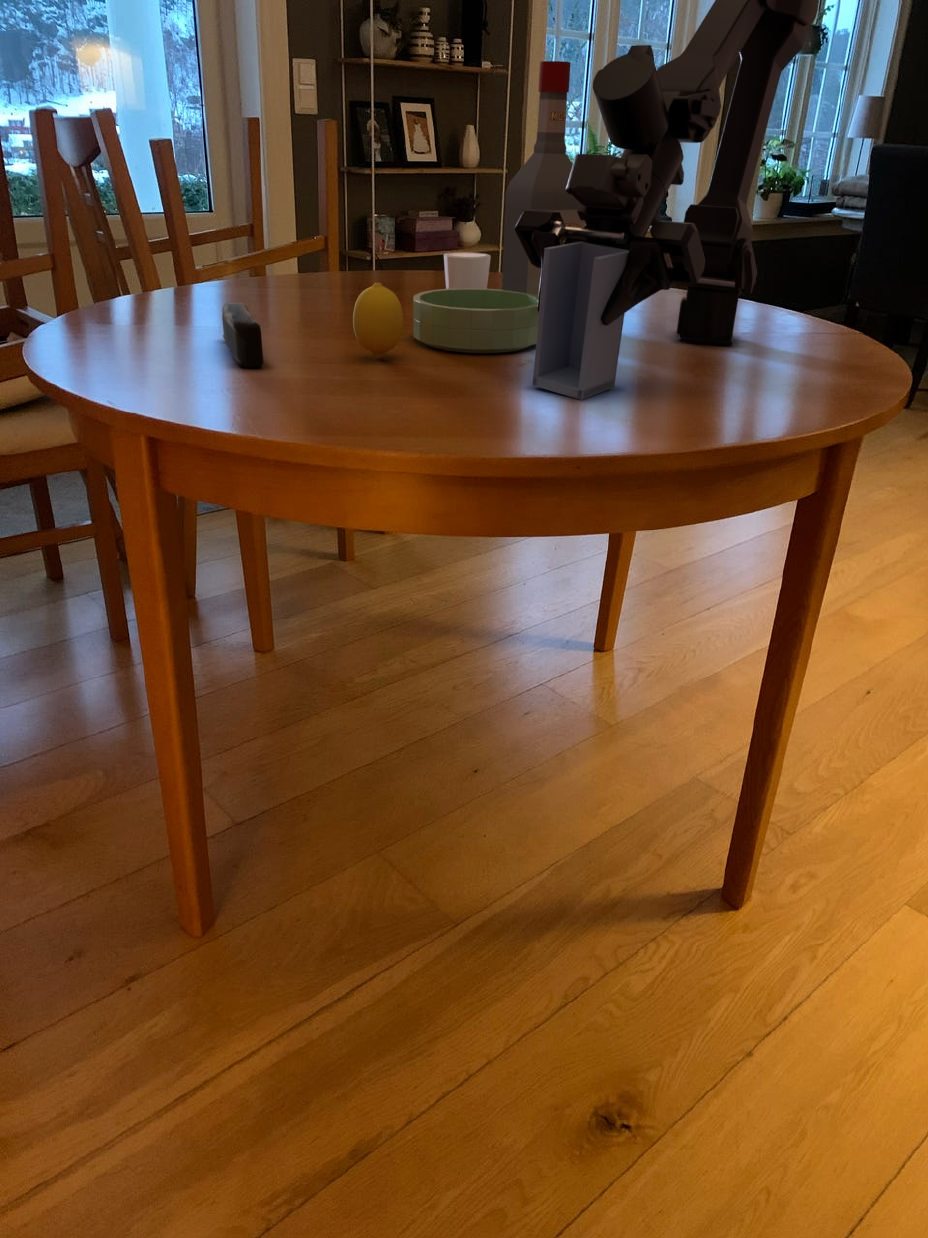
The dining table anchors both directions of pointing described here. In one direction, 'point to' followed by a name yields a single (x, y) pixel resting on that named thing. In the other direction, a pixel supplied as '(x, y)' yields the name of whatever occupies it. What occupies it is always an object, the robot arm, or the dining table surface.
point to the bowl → (475, 320)
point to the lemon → (378, 319)
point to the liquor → (540, 179)
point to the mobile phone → (242, 335)
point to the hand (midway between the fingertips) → (571, 317)
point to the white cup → (466, 270)
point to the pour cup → (578, 320)
